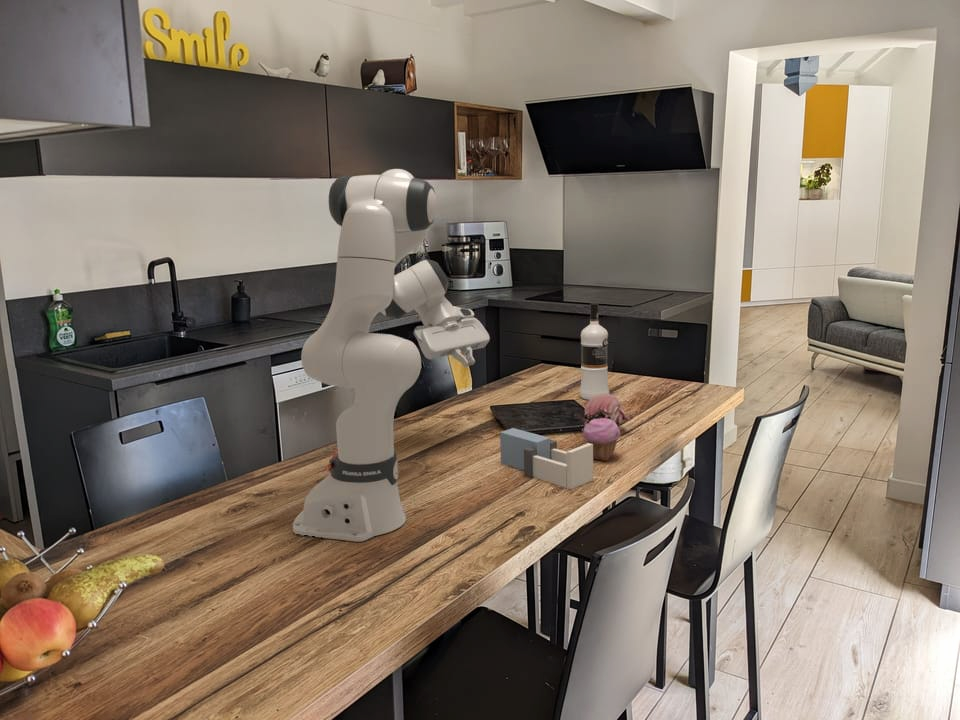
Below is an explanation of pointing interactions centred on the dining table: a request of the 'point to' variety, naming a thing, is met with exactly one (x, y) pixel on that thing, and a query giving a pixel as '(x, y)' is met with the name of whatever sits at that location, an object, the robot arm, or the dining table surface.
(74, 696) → the dining table surface
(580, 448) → the frame
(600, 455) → the cupcake
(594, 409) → the toy
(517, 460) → the grey rectangular box
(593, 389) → the vodka
